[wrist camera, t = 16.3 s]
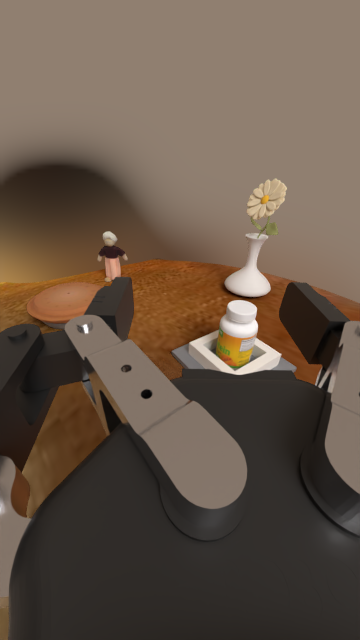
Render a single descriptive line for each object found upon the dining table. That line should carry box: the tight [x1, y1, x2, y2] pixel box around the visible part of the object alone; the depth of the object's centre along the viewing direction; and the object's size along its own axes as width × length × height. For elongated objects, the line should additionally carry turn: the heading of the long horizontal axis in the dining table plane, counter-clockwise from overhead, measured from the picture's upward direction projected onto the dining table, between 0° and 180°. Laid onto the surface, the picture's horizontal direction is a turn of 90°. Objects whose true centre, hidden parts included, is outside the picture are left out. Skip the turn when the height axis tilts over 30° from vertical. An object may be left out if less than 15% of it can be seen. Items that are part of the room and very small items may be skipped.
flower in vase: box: [224, 179, 287, 297], centre depth 53 cm, size 13×11×25 cm
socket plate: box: [172, 330, 297, 375], centre depth 37 cm, size 14×14×3 cm
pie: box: [27, 282, 103, 329], centre depth 48 cm, size 15×16×5 cm
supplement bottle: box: [216, 300, 258, 371], centre depth 35 cm, size 5×5×10 cm
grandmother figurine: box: [98, 232, 128, 282], centre depth 61 cm, size 8×4×13 cm, turn 105°
